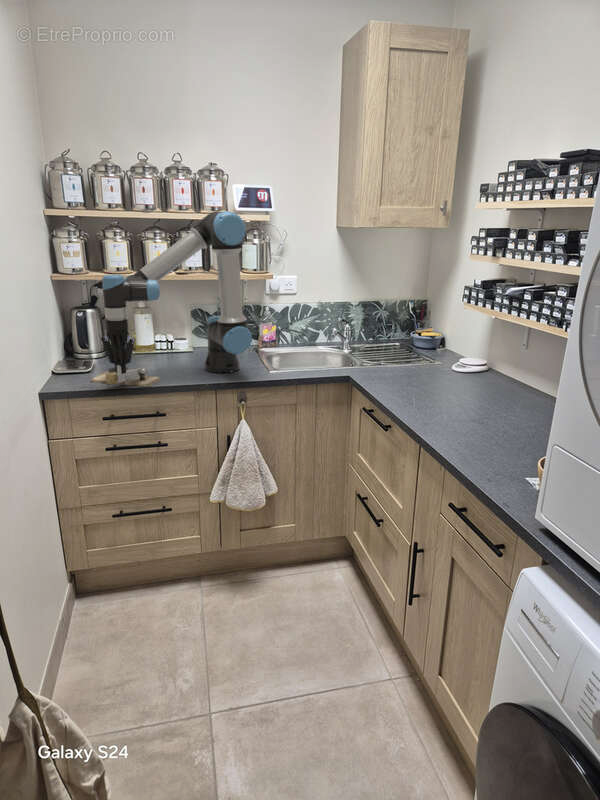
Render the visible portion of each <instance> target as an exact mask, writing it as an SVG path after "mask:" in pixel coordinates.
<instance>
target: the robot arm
mask: <svg viewBox="0 0 600 800" xmlns="http://www.w3.org/2000/svg"><path fill="white" fill-rule="evenodd" d="M246 230H247V228H246V224H245V222H244V220H243V218H242V217H241V216H239V215H238V214H237V213H234V212H231V211H229V210H228V211H227V210H226V211H224V210H223V211H212V212H210V213H208V214H207V215H205V216H204V217H203V218H202V219H201V220H199V221H198V222H197V223H196V224H194V225H193V226H192V227H190V231H189V232H188V233H187V234H186V235H184V236H182V238H180V239H179V240H178V241H176V242H175V243H174V244H172V245H171V246H169V247H168V248H167V249H166V250H164V251H163V252H162V253H160V254H159V255H158V256H156V257H155V258H154V259H152V260H151V261H149V262H148V263H146V264H145V265H144V266H143V267H142V268H140V269H139V270H138V271H136V272H135V273H134V274H130V275H128V276H126V277H125V276H124V275H122V274H105V275H103V276H102V288H101V289H102V295H103V305H104V317H105V328H106V333H105V335H104V336H103V337H101V338H100V340H101V342H102V343H103V346H104V349H105V352H106V355H107V359H108V361H109V363H110V364H113V365H114V367H115V372H116V373H118V382H119V383H122V382H124V381H125V373H126V368H127V364H130V363H132V362H131V361H132V356H133V355H132V354H133V348H134V344H135V343H136V338H134V337H131V336H130V333H129V331H128V330H129V321H128V319H127V318H128V311H127V302H129V303H130V302H151V301H157V300H159V299H160V294H161V293H160V284H159V281H162V279H163V278H165V277H166V276H167V275H169V274H170V273H171V272H173V271H174V270H176V268H178V267H179V266H181V265H183V264H184V263H185V262H186V261H187V260H189V259H190V258H191V257H193V256H194V255H196V254H197V253H198V252H200V251H201V250H203V249H206V250H207V249H208V248H209V247H211V250H212V251H213V252H214V253H215V255H216V265H217V267H216V268H217V280H218V292H219V303H220V304H219V306H220V307H219V308H220V315H213V316H209V317H208V318H207V324H206V326H207V354H206V357H205V361H204V364H203V365H204V367H203V368H204V370H205V371H206V372H209V373H213V372H218V373H217V374H223V373H222V372H230V373H232V372H231V371H235V370H238V369H239V370H240V362H239V361H240V360H239V359H238V355H240V354H243V353H245V352H246V351H247V350H248V349H249V348H250V347H251V344H252V341H253V336H252V333H251V331H250V330H249V328H248V318H247V317H246V316H245V315H244V314H243V299H242V284H241V283H242V280H241V269H240V266H241V265H240V253H241V251H242V250H243V240H244V238H245V237H246ZM126 342H127V343H126ZM239 370H238V371H239ZM235 372H236V371H235Z"/></svg>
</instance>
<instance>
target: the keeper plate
mask: <svg viewBox="0 0 600 800" xmlns="http://www.w3.org/2000/svg"><path fill="white" fill-rule="evenodd" d="M126 370H129V369H128V367H126ZM112 372H115V366H109V367H108V371H103V372H101V373H99V374H98V375H95V377H92V378H91V379H90V380H89V381H90V383H100V384H107V383H106V374H107V373H112ZM114 385H123V386H126V385H125V382H122V383H115V384H114Z"/></svg>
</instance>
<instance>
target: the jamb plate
mask: <svg viewBox="0 0 600 800" xmlns="http://www.w3.org/2000/svg"><path fill="white" fill-rule="evenodd" d="M160 380H161V379H160V377H159V376H151V375H146V373H145V374H138V379H137V380H131V381H126V382H125V385H124V386H135V387H136V386H137V387H147V388H151V386H153V385H155V384H156V383H157V382H159V381H160Z"/></svg>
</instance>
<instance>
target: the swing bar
mask: <svg viewBox="0 0 600 800" xmlns="http://www.w3.org/2000/svg"><path fill="white" fill-rule="evenodd" d="M147 373H149V368H148V367H145V366H140V367H139V366H138V367H136V368H131V369H128V370H126V373H125V381H124V382H126V381H131V380H137V379H138V376H139V374H145V375H146V374H147ZM115 383H119V382H118V373H116V372H112V373H107V374H106V383H105V384H108V385H116V384H115Z"/></svg>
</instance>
